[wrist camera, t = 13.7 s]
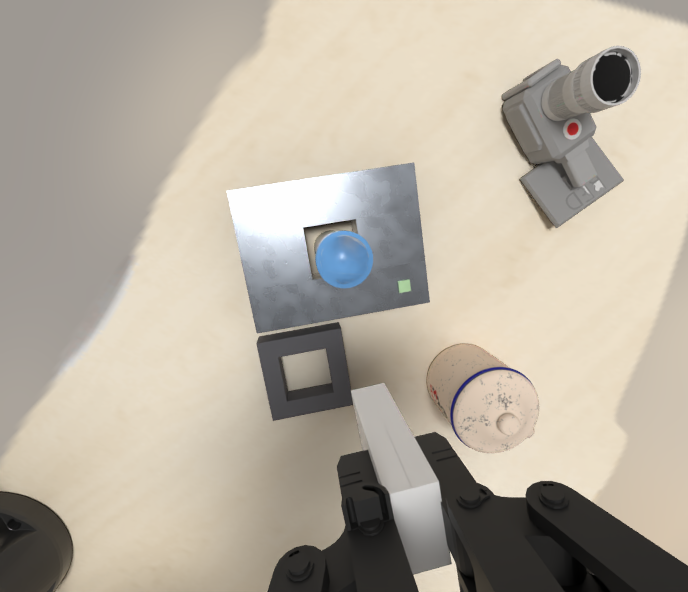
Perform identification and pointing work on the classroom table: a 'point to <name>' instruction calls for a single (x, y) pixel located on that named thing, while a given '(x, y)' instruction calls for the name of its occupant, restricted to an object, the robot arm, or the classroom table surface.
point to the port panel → (322, 208)
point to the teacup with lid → (483, 398)
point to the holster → (313, 397)
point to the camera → (569, 128)
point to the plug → (343, 258)
